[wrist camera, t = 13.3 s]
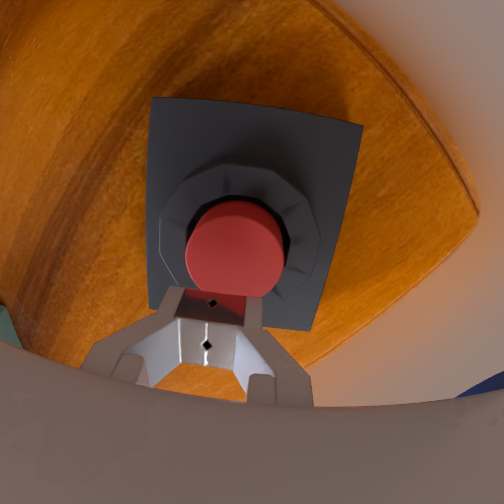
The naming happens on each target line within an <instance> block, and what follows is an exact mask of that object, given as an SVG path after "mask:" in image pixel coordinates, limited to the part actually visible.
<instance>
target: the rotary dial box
mask: <svg viewBox="0 0 504 504" xmlns="http://www.w3.org/2000/svg"><path fill="white" fill-rule="evenodd" d="M0 340H3V341H5V342H7V343H10V344H12V345H14V346H17V347H19V348H22V349H23V347H22V345H21V343H20V340H19V338H18V335H17V333H16V330H15V328H14V325H13V323H12V320H11V318H10V315H9V312H8V309H7V307H5V306H3V305H0Z"/></svg>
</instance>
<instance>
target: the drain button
mask: <svg viewBox="0 0 504 504" xmlns="http://www.w3.org/2000/svg"><path fill="white" fill-rule="evenodd" d="M185 260H186V266H187V269H188V272H189V274H190V276H191V278H192V279H193V281H194V282H195V283H196V285H197V286H198V287H199V288H200V289H201V290H203V291H210V292H216V293H221V294H230V295H239V296H246V297H247V296H253V297H261V296H263V295H265V294H266V293H268V292H269V291H270V290H271V289H272V288H273V287H274V286H275V285H276V284H277V282H278V280H279V279H280V277H281V274H282V271H283V267H284V252H283V242H282V235H281V231H280V228H279V226H278V224H277V222H276V220H275V219H274V218H273V216H272V215H271V214H270V213H269V212H268V211H266V210H265V209H264V208H262V207H261V206H259V205H256V204H254V203H251V202H248V201H242V200H231V201H225V202H222V203H219V204H217V205H215V206H213V207H212V208H210V209H209V210H208V211H206V212H205V213H204V215H203V216H202V217H201V218H200V220H199V222H198V223H197V225H196V227H195V229H194V231H193V233H192V235H191V237H190V239H189V241H188V243H187V247H186V253H185Z"/></svg>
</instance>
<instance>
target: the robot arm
mask: <svg viewBox="0 0 504 504" xmlns="http://www.w3.org/2000/svg"><path fill="white" fill-rule="evenodd" d="M262 319H263V298H262V297H253V296H247V297H246V296H239V295H230V294H221V293H216V292H210V291H203V290H197V289H191V288H185V287H178V286H170V287H169V288H168V290H167V292H166V294H165V296H164V298H163V300H162V303H161V305H160V307H159V309H158V311H157V313H156V314H150V315H148V316H146V317H145V318H143V319H141V320H139V321H137V322H135V323H133V324H131V325H129V326H127V327H125V328H123V329H121V330H119V331H118V332H116V333H114V334H112V335H110V336H108V337H106V338H104V339H102V340H100V341H98V342H96V343H94V345H93V347H92V348H91V350H90V352H89V353H88V355H87V357H86V358H85V360H84V362H83V363H82V365H81V367H80V369H79V368H76V367H72V366H69V365H66V364H63V363H60V362H57V361H54V360H51V359H48V358H46V357H43V356H40V355H37V354H35V353H32V352H29V351H27V350H24V349H22V348H19V347H17V346H14V345H12V344H10V343H7V342H5V341H3V340H0V504H504V389H501V390H496V391H491V392H486V393H481V394H476V395H470V396H465V397H458V398H452V399H445V400H437V401H429V402H420V403H409V404H397V405H381V406H357V407H314V403H313V395H312V386H311V379H310V376H309V375H308V374H307V373H306V372H305V371H304V369H303V368H302V367H301V366H300V365H299V364H298V363H297V362H296V361H295V360H294V359H293V358H292V357H291V356H290V355H289V353H288V352H287V351H286V350H285V349H284V348H283V347H282V346H281V345H280V344H279V343H278V342H277V340H276V339H275V338H274V337H273V336H272V335H271V334H270V333H269V332H268V331H267V330H263V329H262ZM180 362H181V363H188V364H196V365H204V366H206V365H207V366H210V367H216V368H223V369H229V370H233V372H234V374H235V376H236V378H237V379H238V381H239V383H240V384H241V386H242V388H243V390H244V391H245V393H246V396H245V402H241V401H232V400H224V399H216V398H209V397H202V396H196V395H190V394H184V393H178V392H173V391H167V390H162V389H157V388H152V387H153V386H154V385H156V384H157V383H158V382H159V381H160V380H162V379H163V378H164V377H165V376H166V375H167V374H169V373H170V372H171V371H172V370H173V369H174V368H176V367H177V366H178V365H179V364H180Z"/></svg>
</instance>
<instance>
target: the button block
mask: <svg viewBox="0 0 504 504" xmlns="http://www.w3.org/2000/svg"><path fill="white" fill-rule="evenodd" d="M362 132H363V125H359V124H355V123H351V122H347V121H343V120H338V119H334V118H329V117H325V116H320V115H315V114H310V113H305V112H299V111H294V110H288V109H282V108H275V107H269V106H262V105H254V104H247V103H238V102H229V101H218V100H207V99H192V98H172V97H152V100H151V110H150V122H149V135H148V152H147V174H146V261H147V283H148V300H149V309H153V310H158V309H159V307H160V305H161V303H162V300H163V298H164V296H165V294H166V292H167V290H168V288H169V287H170V286H178V287H185V288H191V289H197V290H201V289H200V288H199V287H198V286H197V285H196V283H195V282H194V281H193V279H192V278H191V276H190V274H189V272H188V269H187V266H186V260H185V253H186V247H187V243H188V241H189V239H190V237H191V235H192V233H193V231H194V229H195V227H196V225H197V223H198V222H199V220H200V218H201V217H202V216H203V215H204V213H205V212H206V211H208V210H209V209H210V208H212V207H213V206H215V205H217V204H219V203H222V202H225V201H231V200H242V201H248V202H251V203H254V204H256V205H259V206H261V207H262V208H264V209H265V210H266V211H268V212H269V213H270V214H271V215H272V216H273V218H274V219H275V220H276V222H277V224H278V226H279V228H280V231H281V235H282V242H283V252H284V267H283V271H282V274H281V277H280V279H279V280H278V282H277V284H276V285H275V286H274V287H273V288H272V289H271V290H270V291H269V292H268V293H266V294H265V295H263V296H261V297H262V298H263V319H262V326H264V327H272V328H281V329H290V330H299V331H310V329H311V326H312V323H313V320H314V317H315V314H316V311H317V308H318V305H319V301H320V298H321V295H322V292H323V288H324V285H325V282H326V278H327V275H328V272H329V268H330V265H331V261H332V258H333V254H334V250H335V247H336V243H337V239H338V236H339V232H340V228H341V224H342V220H343V217H344V213H345V209H346V205H347V200H348V196H349V192H350V188H351V184H352V179H353V175H354V170H355V166H356V161H357V157H358V152H359V147H360V142H361V137H362Z"/></svg>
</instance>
